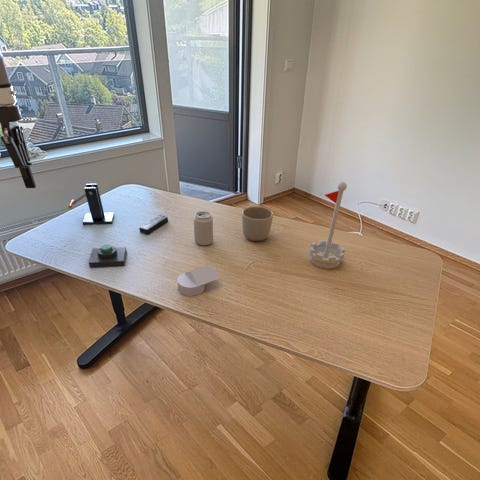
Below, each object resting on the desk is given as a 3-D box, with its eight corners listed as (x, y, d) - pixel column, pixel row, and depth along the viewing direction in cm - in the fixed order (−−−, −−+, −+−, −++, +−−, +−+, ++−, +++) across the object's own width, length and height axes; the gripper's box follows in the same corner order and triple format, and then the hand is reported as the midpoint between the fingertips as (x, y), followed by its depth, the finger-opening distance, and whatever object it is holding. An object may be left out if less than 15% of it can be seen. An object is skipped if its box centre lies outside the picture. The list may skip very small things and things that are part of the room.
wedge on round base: (206, 273, 123) (173, 285, 117) (206, 257, 119) (171, 268, 113) (219, 286, 118) (186, 299, 112) (220, 270, 113) (184, 282, 107)
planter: (264, 229, 151) (267, 205, 144) (274, 242, 142) (277, 218, 135) (237, 231, 148) (238, 207, 141) (245, 246, 139) (247, 220, 132)
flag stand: (343, 255, 136) (364, 178, 117) (340, 273, 127) (362, 192, 107) (310, 249, 139) (325, 173, 119) (305, 266, 130) (320, 185, 110)
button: (101, 253, 124) (99, 249, 123) (102, 248, 126) (101, 244, 125) (111, 253, 124) (110, 249, 123) (112, 248, 127) (111, 244, 126)
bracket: (82, 224, 147) (73, 190, 138) (86, 215, 154) (77, 182, 144) (112, 223, 149) (104, 189, 139) (114, 214, 156) (107, 181, 146)
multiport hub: (168, 221, 153) (168, 216, 151) (148, 235, 143) (147, 230, 141) (160, 219, 154) (159, 214, 153) (139, 232, 144) (138, 227, 143)
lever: (71, 210, 144) (66, 205, 142) (73, 204, 148) (69, 199, 147) (95, 193, 141) (91, 188, 140) (97, 188, 146) (93, 183, 144)
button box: (89, 268, 123) (87, 258, 120) (94, 253, 130) (91, 244, 128) (124, 266, 125) (122, 256, 122) (126, 252, 132) (124, 242, 130)
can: (208, 236, 144) (207, 208, 136) (216, 244, 139) (216, 215, 132) (191, 239, 141) (190, 211, 133) (199, 248, 136) (198, 219, 129)
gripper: (9, 109, 94) (38, 195, 110) (24, 100, 104) (48, 180, 119) (-21, 108, 93) (12, 195, 108) (-4, 99, 102) (24, 180, 118)
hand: (31, 187), depth 114 cm, fingers closed
